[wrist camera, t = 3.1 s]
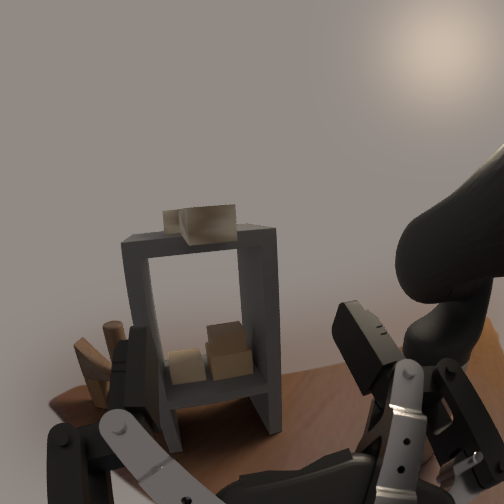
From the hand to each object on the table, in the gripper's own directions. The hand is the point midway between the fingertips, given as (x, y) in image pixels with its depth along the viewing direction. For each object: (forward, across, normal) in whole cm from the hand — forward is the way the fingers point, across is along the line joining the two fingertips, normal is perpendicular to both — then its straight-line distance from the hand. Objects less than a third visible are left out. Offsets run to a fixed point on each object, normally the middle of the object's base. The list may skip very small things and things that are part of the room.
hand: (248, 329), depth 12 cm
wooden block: (+18, +20, +42) cm, 50 cm away
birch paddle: (+21, +1, +7) cm, 23 cm away
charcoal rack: (+13, +1, +39) cm, 41 cm away
